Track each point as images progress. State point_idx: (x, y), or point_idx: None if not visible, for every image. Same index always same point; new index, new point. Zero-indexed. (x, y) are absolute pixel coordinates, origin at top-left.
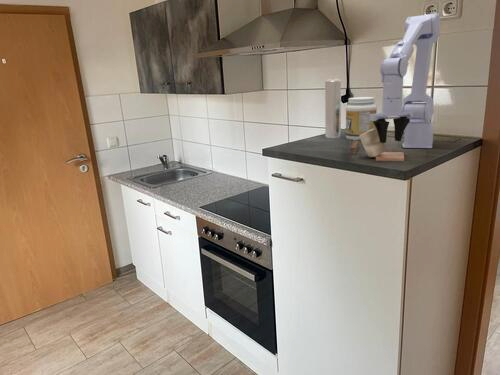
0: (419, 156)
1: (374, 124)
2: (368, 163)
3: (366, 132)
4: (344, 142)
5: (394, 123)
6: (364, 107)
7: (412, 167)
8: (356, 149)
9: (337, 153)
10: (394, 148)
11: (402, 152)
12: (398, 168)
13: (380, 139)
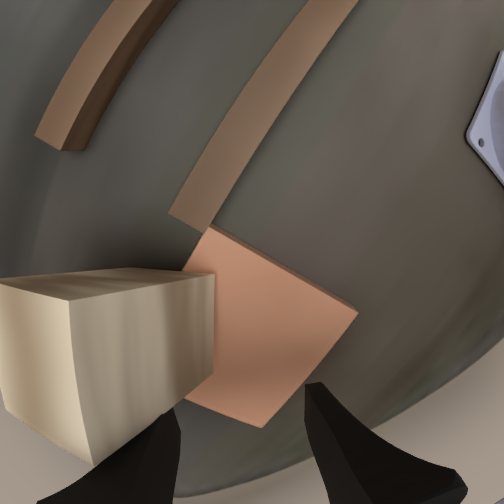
0: (389, 362)
1: (56, 498)
2: None
3: (19, 369)
4: None
5: (358, 486)
6: None
7: (224, 483)
8: (136, 47)
9: (17, 77)
10: (428, 97)
11: (352, 313)
12: None
13: None
